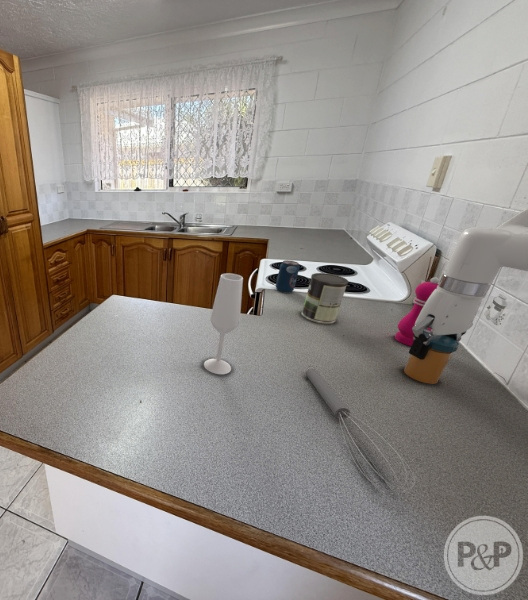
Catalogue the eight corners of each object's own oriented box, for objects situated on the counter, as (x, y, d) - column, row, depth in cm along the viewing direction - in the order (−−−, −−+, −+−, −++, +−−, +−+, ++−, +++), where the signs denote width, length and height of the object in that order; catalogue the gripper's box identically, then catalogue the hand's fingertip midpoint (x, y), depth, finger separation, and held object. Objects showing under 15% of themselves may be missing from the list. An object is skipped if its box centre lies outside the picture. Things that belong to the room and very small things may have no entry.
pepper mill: (421, 339, 93) (450, 276, 85) (426, 350, 88) (458, 284, 80) (391, 332, 97) (416, 271, 89) (394, 343, 91) (421, 278, 83)
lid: (410, 335, 77) (413, 329, 77) (444, 339, 75) (447, 333, 75) (425, 349, 71) (428, 343, 70) (463, 355, 69) (466, 348, 69)
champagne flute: (223, 378, 75) (239, 284, 65) (198, 366, 79) (210, 276, 69) (235, 366, 79) (252, 276, 69) (212, 355, 83) (224, 270, 74)
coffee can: (296, 316, 106) (307, 277, 100) (307, 307, 113) (317, 270, 107) (330, 327, 99) (343, 286, 94) (339, 317, 106) (352, 278, 100)
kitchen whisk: (319, 372, 77) (326, 351, 75) (415, 510, 47) (433, 482, 44) (293, 370, 78) (299, 348, 75) (371, 505, 47) (386, 476, 45)
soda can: (292, 294, 124) (299, 266, 119) (273, 291, 127) (279, 262, 123) (294, 289, 129) (301, 261, 125) (276, 286, 133) (282, 258, 128)
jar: (429, 370, 79) (446, 336, 75) (443, 386, 73) (462, 350, 69) (399, 365, 81) (414, 332, 77) (411, 380, 75) (427, 345, 71)
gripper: (472, 278, 73) (440, 343, 80) (413, 281, 69) (384, 349, 76) (515, 290, 66) (475, 360, 73) (451, 294, 62) (416, 367, 70)
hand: (429, 354), depth 75 cm, fingers closed on lid, 7 cm apart
